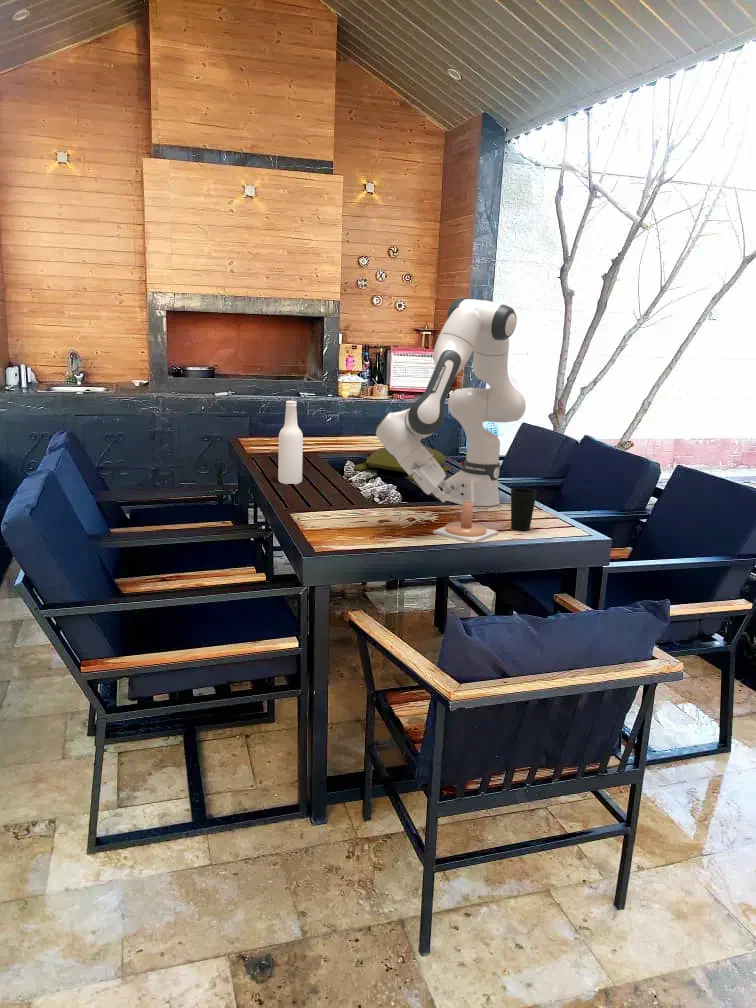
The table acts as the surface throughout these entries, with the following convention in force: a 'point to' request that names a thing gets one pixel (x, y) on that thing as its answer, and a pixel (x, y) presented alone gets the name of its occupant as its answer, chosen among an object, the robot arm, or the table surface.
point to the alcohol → (290, 448)
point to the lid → (466, 524)
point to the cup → (522, 508)
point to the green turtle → (394, 461)
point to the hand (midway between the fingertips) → (448, 497)
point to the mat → (443, 532)
